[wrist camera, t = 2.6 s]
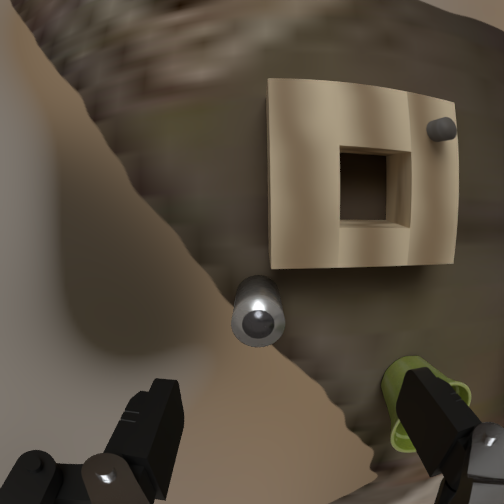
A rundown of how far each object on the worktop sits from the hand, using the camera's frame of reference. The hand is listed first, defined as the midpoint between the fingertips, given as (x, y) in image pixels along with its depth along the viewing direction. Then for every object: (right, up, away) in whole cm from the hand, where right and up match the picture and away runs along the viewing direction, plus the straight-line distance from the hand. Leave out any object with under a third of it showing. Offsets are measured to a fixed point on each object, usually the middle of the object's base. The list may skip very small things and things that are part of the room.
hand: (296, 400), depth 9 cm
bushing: (-1, +1, +19) cm, 19 cm away
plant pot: (+16, -9, +21) cm, 28 cm away
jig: (+8, +12, +16) cm, 21 cm away
